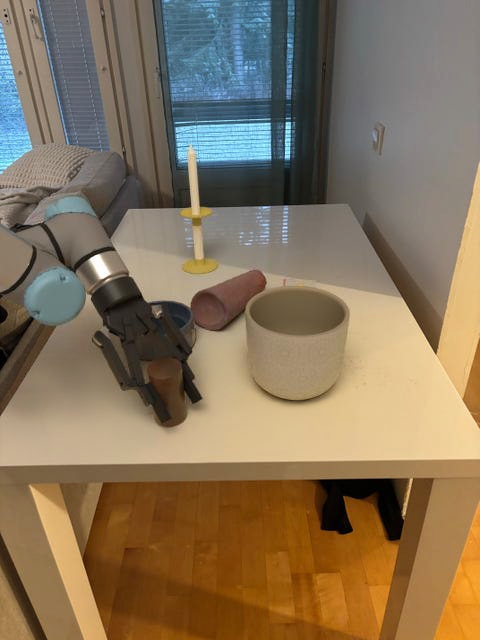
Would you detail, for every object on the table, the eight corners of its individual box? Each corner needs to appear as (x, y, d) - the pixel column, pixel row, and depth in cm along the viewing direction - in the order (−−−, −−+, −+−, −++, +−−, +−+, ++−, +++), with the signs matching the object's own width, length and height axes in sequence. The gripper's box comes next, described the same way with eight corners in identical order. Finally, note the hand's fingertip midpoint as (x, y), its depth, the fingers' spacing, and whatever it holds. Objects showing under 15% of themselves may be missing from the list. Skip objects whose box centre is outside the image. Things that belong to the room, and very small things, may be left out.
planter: (259, 349, 93) (258, 280, 85) (345, 361, 89) (353, 290, 81) (235, 404, 79) (232, 329, 72) (336, 421, 75) (345, 343, 67)
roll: (167, 432, 74) (160, 383, 69) (147, 415, 78) (139, 367, 72) (193, 415, 77) (189, 366, 72) (173, 399, 81) (167, 352, 76)
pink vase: (227, 335, 98) (225, 298, 93) (190, 325, 102) (186, 289, 97) (270, 292, 114) (271, 259, 109) (237, 285, 118) (236, 252, 113)
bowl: (153, 372, 88) (149, 345, 85) (113, 343, 97) (108, 318, 93) (209, 341, 96) (207, 316, 93) (168, 317, 105) (165, 294, 102)
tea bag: (283, 315, 105) (284, 274, 99) (313, 317, 103) (316, 276, 98) (281, 323, 101) (282, 282, 96) (312, 326, 100) (315, 284, 95)
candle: (204, 255, 134) (195, 136, 118) (225, 266, 128) (219, 141, 111) (174, 265, 129) (161, 142, 112) (195, 277, 122) (184, 148, 105)
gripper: (150, 277, 84) (215, 389, 82) (52, 315, 73) (125, 445, 71) (164, 258, 78) (235, 378, 76) (60, 297, 67) (140, 438, 65)
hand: (182, 410), depth 73 cm, fingers closed on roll, 5 cm apart
